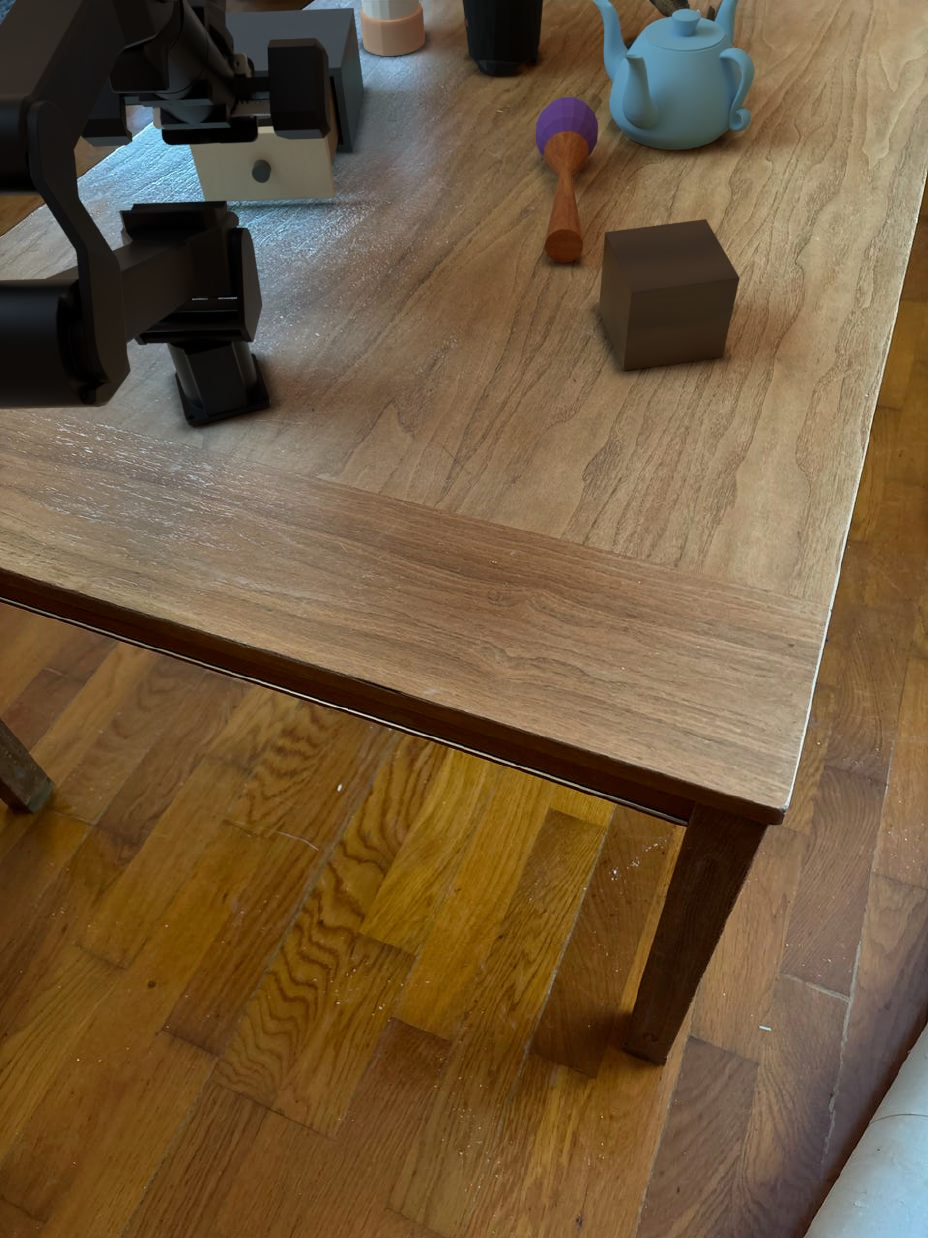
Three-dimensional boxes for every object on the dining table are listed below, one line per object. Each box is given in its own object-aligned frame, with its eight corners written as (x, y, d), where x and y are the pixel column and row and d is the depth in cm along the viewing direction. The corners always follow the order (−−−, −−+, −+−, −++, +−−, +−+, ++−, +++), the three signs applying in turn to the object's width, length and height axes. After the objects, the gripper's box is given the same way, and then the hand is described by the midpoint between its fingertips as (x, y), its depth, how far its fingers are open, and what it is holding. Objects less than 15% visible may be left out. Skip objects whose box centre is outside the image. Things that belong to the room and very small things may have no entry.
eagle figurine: (720, 24, 106) (647, -3, 107) (729, -21, 99) (651, -49, 100) (691, 86, 106) (618, 58, 107) (698, 45, 99) (620, 16, 100)
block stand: (723, 357, 73) (740, 277, 68) (623, 371, 73) (631, 292, 67) (692, 297, 78) (706, 218, 72) (598, 310, 77) (604, 231, 72)
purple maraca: (523, 221, 79) (531, 90, 89) (535, 279, 84) (542, 149, 94) (594, 209, 77) (594, 78, 88) (602, 269, 82) (601, 138, 93)
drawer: (333, 205, 87) (322, 137, 82) (202, 209, 88) (183, 142, 83) (347, 132, 96) (338, 66, 91) (227, 137, 96) (211, 71, 91)
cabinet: (352, 152, 95) (340, 66, 88) (220, 156, 96) (198, 72, 89) (363, 89, 103) (353, 7, 97) (242, 94, 104) (223, 12, 97)
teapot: (761, 156, 91) (785, 41, 83) (606, 168, 91) (616, 53, 83) (725, 87, 100) (744, -24, 91) (585, 98, 100) (591, -12, 91)
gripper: (300, -94, 60) (343, 24, 75) (17, -81, 61) (116, 34, 76) (307, 92, 62) (348, 170, 77) (31, 102, 63) (125, 178, 78)
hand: (234, 135), depth 77 cm, fingers closed
